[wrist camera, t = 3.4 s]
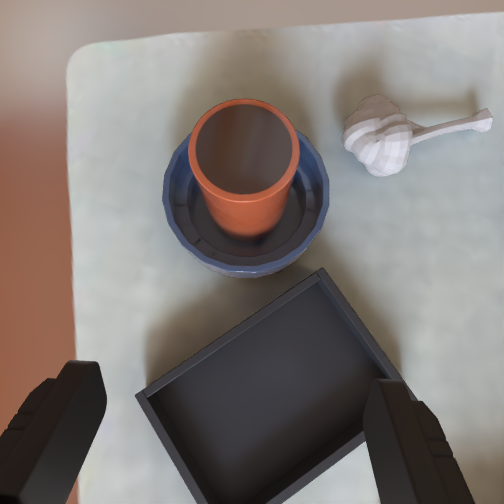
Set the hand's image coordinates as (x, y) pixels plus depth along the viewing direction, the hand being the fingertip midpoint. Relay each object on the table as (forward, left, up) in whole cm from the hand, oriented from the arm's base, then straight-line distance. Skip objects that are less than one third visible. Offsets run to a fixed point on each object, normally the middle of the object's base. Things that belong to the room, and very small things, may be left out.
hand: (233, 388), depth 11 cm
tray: (0, +4, -16) cm, 17 cm away
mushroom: (-20, -6, -16) cm, 27 cm away
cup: (-6, -9, -16) cm, 19 cm away
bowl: (-6, -9, -16) cm, 19 cm away
